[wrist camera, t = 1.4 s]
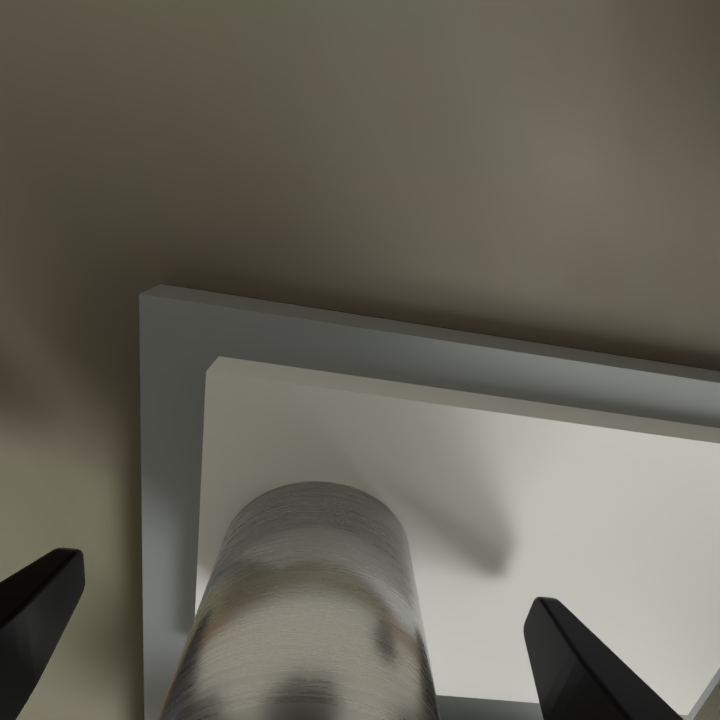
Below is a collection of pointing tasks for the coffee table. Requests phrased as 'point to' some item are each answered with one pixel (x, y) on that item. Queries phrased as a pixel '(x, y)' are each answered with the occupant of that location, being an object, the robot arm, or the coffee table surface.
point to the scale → (441, 482)
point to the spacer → (308, 616)
